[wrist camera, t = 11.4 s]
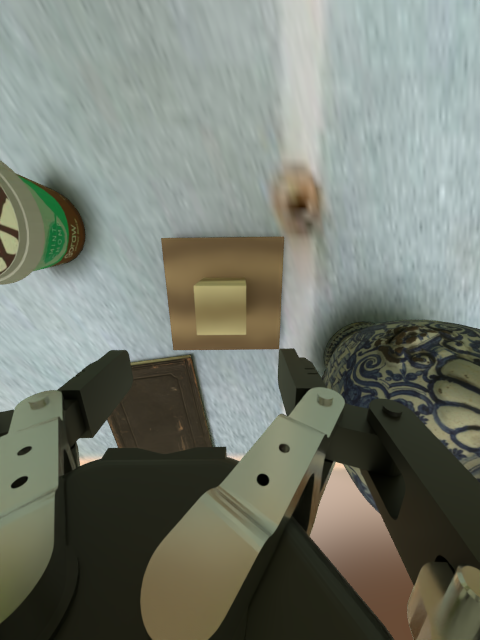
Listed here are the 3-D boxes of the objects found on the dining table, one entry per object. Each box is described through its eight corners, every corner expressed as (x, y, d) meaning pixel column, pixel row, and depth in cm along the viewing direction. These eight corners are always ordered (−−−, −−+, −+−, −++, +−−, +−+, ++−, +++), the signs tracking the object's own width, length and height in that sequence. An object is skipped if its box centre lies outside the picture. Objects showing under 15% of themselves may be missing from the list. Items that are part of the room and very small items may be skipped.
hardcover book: (193, 351, 35) (190, 358, 33) (219, 462, 42) (218, 474, 40) (94, 364, 36) (85, 372, 34) (135, 472, 43) (130, 484, 41)
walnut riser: (171, 239, 30) (161, 238, 26) (278, 238, 30) (284, 236, 26) (180, 338, 34) (173, 350, 30) (274, 337, 34) (278, 349, 30)
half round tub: (94, 283, 32) (31, 299, 22) (48, 274, 31) (-36, 286, 22) (95, 184, 28) (19, 153, 18) (43, 173, 28) (-62, 134, 18)
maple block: (203, 277, 27) (193, 286, 22) (245, 277, 27) (246, 285, 22) (205, 317, 29) (196, 335, 23) (244, 317, 29) (246, 334, 23)
